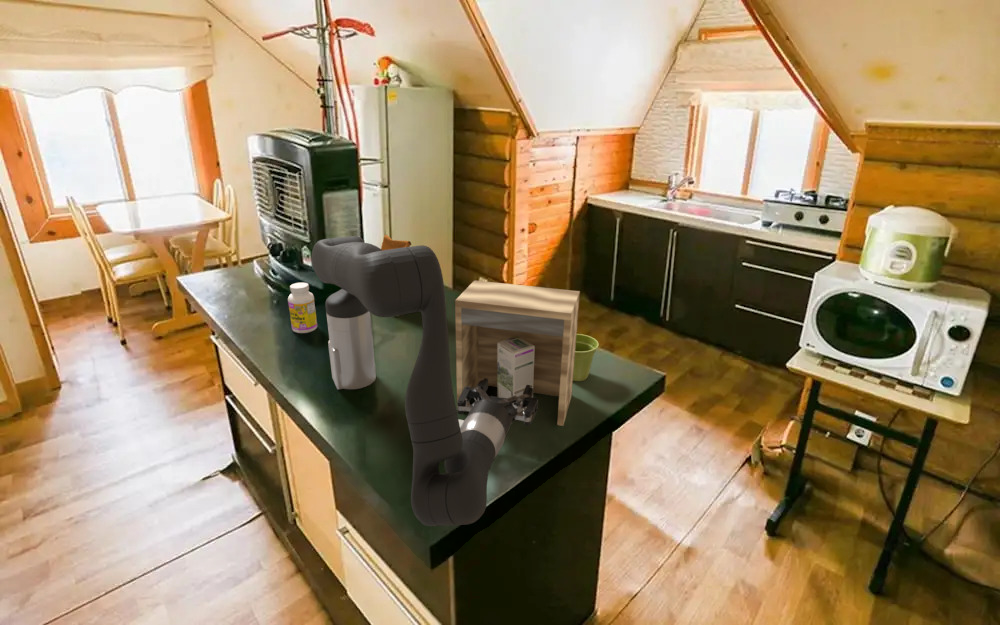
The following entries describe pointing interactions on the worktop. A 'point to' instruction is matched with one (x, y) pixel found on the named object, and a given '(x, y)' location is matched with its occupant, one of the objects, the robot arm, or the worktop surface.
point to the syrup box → (514, 367)
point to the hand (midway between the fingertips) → (507, 385)
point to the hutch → (517, 335)
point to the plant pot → (583, 356)
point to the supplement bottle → (302, 308)
